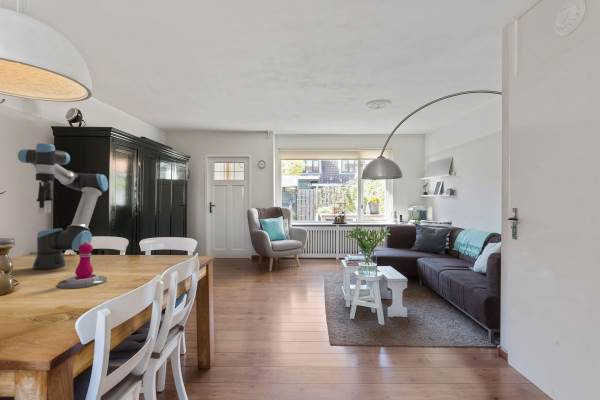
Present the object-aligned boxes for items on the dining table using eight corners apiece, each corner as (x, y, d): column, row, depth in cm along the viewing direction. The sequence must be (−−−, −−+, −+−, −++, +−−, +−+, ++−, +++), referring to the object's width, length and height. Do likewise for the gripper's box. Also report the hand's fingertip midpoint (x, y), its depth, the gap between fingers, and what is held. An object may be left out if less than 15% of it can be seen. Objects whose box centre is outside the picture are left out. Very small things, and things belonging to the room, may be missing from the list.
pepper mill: (96, 279, 152) (98, 240, 152) (82, 282, 145) (85, 241, 145) (84, 278, 153) (87, 239, 154) (71, 281, 146) (73, 240, 147)
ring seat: (62, 280, 153) (62, 274, 153) (108, 276, 162) (108, 270, 162) (52, 290, 135) (52, 284, 135) (105, 285, 145) (105, 279, 145)
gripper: (41, 174, 164) (40, 212, 165) (29, 171, 143) (29, 215, 144) (58, 174, 168) (57, 211, 169) (49, 172, 147) (49, 214, 148)
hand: (44, 213), depth 156 cm, fingers open, 13 cm apart
